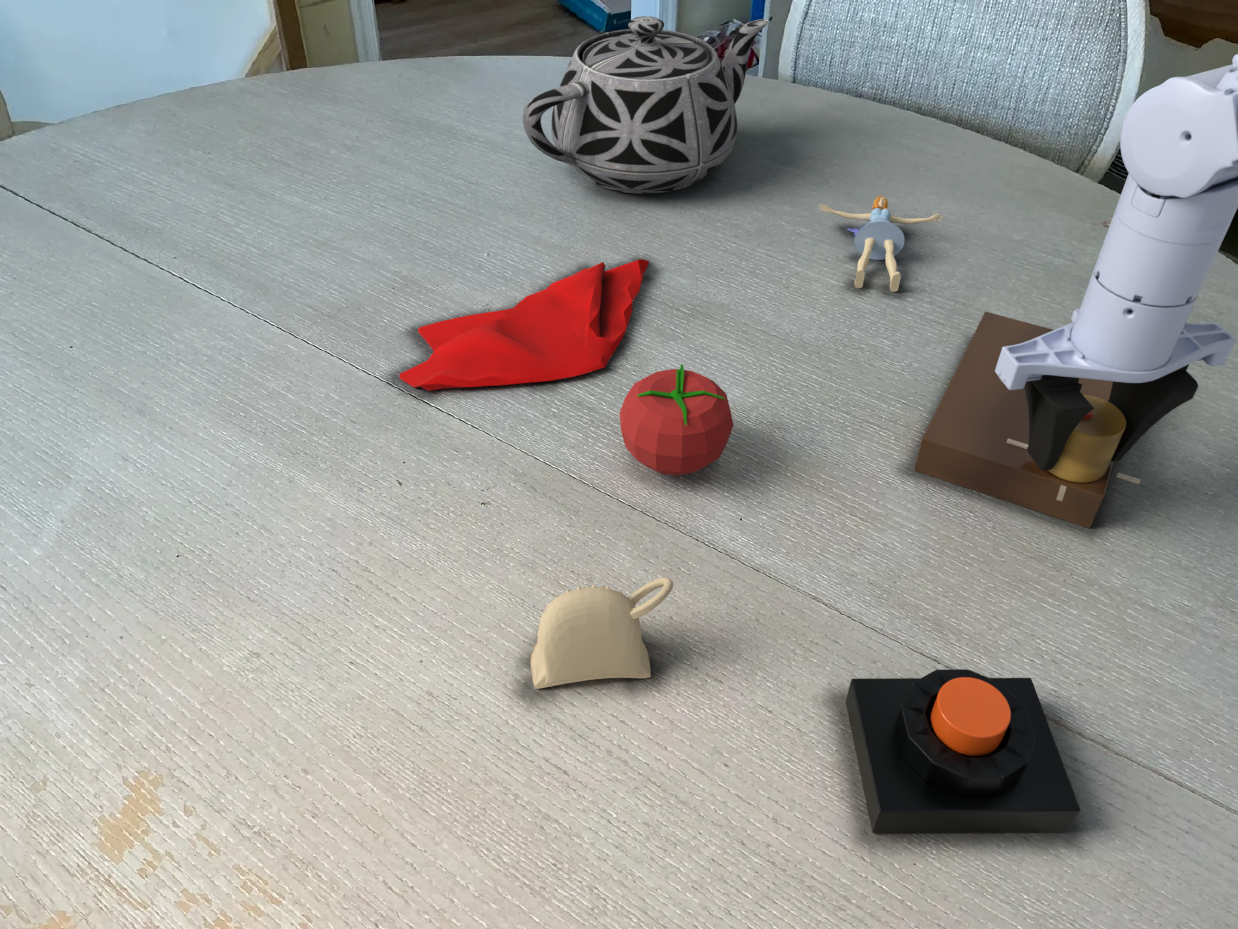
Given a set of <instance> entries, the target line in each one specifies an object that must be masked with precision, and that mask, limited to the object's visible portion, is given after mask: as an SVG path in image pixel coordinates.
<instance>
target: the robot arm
mask: <svg viewBox="0 0 1238 929" xmlns="http://www.w3.org/2000/svg"><path fill="white" fill-rule="evenodd" d="M1231 62H1232V64H1229V65H1224V66H1221V67H1218V68H1217V67H1216V68H1214V69H1210V70H1206V71H1203V72H1199V73H1195V74H1191V75H1187V76H1173V77H1170V78H1168V79H1166V80H1165V81H1164V82H1163V83H1161V84H1160V85H1157V86H1155V87H1152V88H1149V89H1148V90H1146V91H1145V92H1143V93H1142V94H1141V95H1140V96H1139V97H1138V98H1137V99H1136V100H1135V101H1134V102H1133V103H1132V105H1131V106H1130V107H1129V109H1128V111H1127V113H1126V115H1125V116H1124V119H1123V122H1122V125H1121V130H1120V137H1119V148H1120V154H1121V155H1120V156H1121V159H1122V162H1123V164H1124V165H1123V166H1124V167H1125V169H1126V171H1127V173H1128V174H1127V177H1126V180H1125V182H1124V185H1123V188H1122V190H1121V193H1120V196H1119V199H1118V202H1117V204H1116V207H1115V210H1114V213H1113V215H1112V218H1111V221H1110V224H1109V227H1108V229H1107V232H1106V234H1105V238H1104V240H1103V243H1102V246H1101V249H1100V251H1099V254H1098V256H1097V259H1096V262H1095V264H1094V265H1095V266H1094V267H1093V271H1092V273H1091V277H1090V278H1089V281H1088V284H1087V288H1086V290H1085V293H1084V296H1083V298H1082V302H1081V304H1080V306H1079V308H1076V309H1074V311H1073V312H1072V315H1071V318H1070V320H1071V322H1070V323H1068V324H1065V325H1063V326H1061V327H1058V328H1056V329H1053V331H1051V332H1048V333H1046V334H1044V335H1041V336H1039V337H1036V338H1034V339H1032V340H1029V341H1027V342H1024V343H1020V344H1016V345H1011V346H1004V347H1002V350H1001V353H1000V356H999V359H998V363H997V366H996V369H995V372H996V374H997V375H998V376H999V378H1000V379H1001V381H1002V382H1003V383H1004V384H1005V385H1006V387H1007V388H1008V389H1009V390H1017V389H1023V388H1025V392H1026V397H1027V403H1028V410H1029V444H1028V453H1029V455H1030V456H1031V457H1032V459H1033V460H1034V461H1035V463H1036V464H1037V465H1038V467H1039V468H1040V470H1042V471H1045V470H1051V469H1052V468H1053V467H1054V466H1055V465H1056V463H1057V462H1058V460H1059V458H1060V456H1061V453H1062V451H1063V449H1064V447H1065V444H1066V442H1067V440H1068V438H1069V436H1070V435H1071V433H1072V432H1073V430H1074V429H1075V427H1076V426H1077V425H1078V424H1079V422H1080V421H1081V420H1082V419H1083V418H1084V417H1085V416H1086V415H1087V414H1088V413H1089V412H1090V411H1092V410H1093V409H1094V408H1093V406H1092V405H1091V404H1090V403H1089V402H1088V400H1087V399H1086V398H1085V397H1084V396H1083V395H1082V393H1081V392H1080V390H1081V388H1082V384H1079V382H1078V381H1079V378H1083V379H1093V380H1104V381H1113V384H1112V389H1111V393H1110V397H1109V400H1108V402H1110V403H1111V404H1113V405H1114V406H1116V407H1117V408H1118V409H1119V410H1120V411H1121V412H1122V413H1123V415H1124V416H1125V419H1126V428H1125V430H1124V432H1123V435H1122V437H1121V439H1120V441H1119V444H1118V446H1117V448H1116V450H1115V453H1114V455H1113V457H1112V459H1111V462H1113V461H1114V462H1119V461H1120V462H1121V460H1122V459H1123V458H1124V457H1125V456H1126V454H1128V452H1130V450H1131V449H1132V448H1133V447H1134V446H1135V445H1136V443H1138V441H1140V439H1141V438H1142V437H1143V436H1144V435H1145V434H1146V433H1147V432H1148V431H1149V430H1150V429H1151V428H1152V427H1153V426H1154V425H1155V424H1156V423H1158V422H1159V421H1160V420H1161V419H1162V418H1164V417H1165V416H1167V415H1168V414H1169V413H1170V412H1172V411H1173V410H1175V409H1177V408H1178V407H1180V406H1182V405H1183V404H1185V403H1187V402H1189V401H1191V400H1192V399H1193V398H1194V397H1195V395H1196V392H1197V390H1198V388H1199V383H1198V381H1197V380H1196V379H1195V378H1194V377H1193V376H1192V375H1191V374H1190V373H1189V372H1188V371H1187V370H1188V368H1189V367H1190V364H1192V363H1195V362H1200V361H1204V363H1205V364H1206V365H1208V366H1210V367H1215V366H1223V365H1225V364H1226V362H1227V360H1228V358H1229V356H1230V354H1231V352H1232V350H1233V348H1234V346H1235V344H1236V343H1237V339H1236V338H1235V337H1234V336H1233V335H1232V334H1231V333H1230V332H1229V331H1228V330H1227V329H1225V328H1224V327H1223V326H1222V325H1221V324H1219V322H1216V321H1215V322H1187V321H1188V319H1189V316H1190V314H1191V312H1192V310H1193V307H1194V305H1195V303H1196V301H1197V299H1198V297H1199V294H1200V292H1201V290H1202V287H1203V285H1204V283H1205V281H1206V278H1207V276H1208V274H1209V272H1210V270H1211V267H1212V265H1213V263H1214V261H1215V259H1216V257H1217V255H1218V252H1219V250H1220V248H1221V246H1222V242H1223V241H1224V238H1225V237H1226V235H1227V232H1228V230H1229V228H1230V226H1231V225H1232V224H1231V223H1232V221H1233V218H1234V217H1235V214H1236V212H1237V210H1238V53H1237V54H1235V55H1234V56H1233V57H1232V61H1231ZM1114 462H1113V463H1114Z"/></svg>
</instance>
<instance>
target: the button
mask: <svg viewBox="0 0 1238 929" xmlns="http://www.w3.org/2000/svg"><path fill="white" fill-rule="evenodd" d="M1010 720H1011V711H1010V707H1009V704H1008V702H1007V700H1006V698H1005V697H1004V696H1003V695H1002V693H1001V692H1000V691H999V690H997V689H996V688H995V687H994V686H992V685H990V684H989V683H987V682H985V681H982V680H980V679H976V678H971V677H960V678H955V679H952V680H950V681H948V682H947V683H945V684H944V685H943V686H942V687H941V689H940V691H939V693H938V695H937V698H936V701H935V704H934V706H933V709H932V712H931V724H932V727H933V730H934V732H935V734H936V735H937V737H938V738H939V739H940V740H941V741H942V742H943V743H944V744H945V745H946V746H947V747H949V748H950V749H952V750H954V751H956V752H958V753H961V754H965V755H970V756H981V755H985V754H988V753H990V752H992V751H994V750H995V749H996V748H997V747H998V746H999V745H1000V743H1001V741H1002V739H1003V736H1004V734H1005V732H1006V730H1007V728H1008V726H1009V723H1010Z"/></svg>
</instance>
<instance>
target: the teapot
mask: <svg viewBox="0 0 1238 929" xmlns="http://www.w3.org/2000/svg"><path fill="white" fill-rule="evenodd" d="M768 24H769V19H765V18H762V19H756V20H752V21H751V20H750V21H749V22H746V23H744V24H743V25H742V27H740V29H739V30H738V31H737V32H736V33H735V35H734V36H733V39H732V41H731V43H730V45H729V47H728V49H727V51H726V53H725V56H724V58H723V59H722V61H720V58H719V56H718V53H717V52H716V50H715V49H714V48H713V47H712V45H711V44H709V43H708V42H706V41H704V40H703V39H700V38H699V37H697V36H695V35H692V34H688V33H684V32H680V31H674V30H669V29H664V27H665V22H664V21H663V20H662V19H660V18H659V17H656V16H648V15H647V16H646V15H643V16H636V17H634V18H631V19H630V20H629V21H628V23H627V26H628V28H629V29H628V28H627V29H620V30H613V31H609V32H603V33H600V34H598V35H594V36H592V37H590V38H588V39H586V40H584V41H583V42H581V44H579V45H578V46H577V48H575V50H574V52H573V54H572V56H571V59H570V61H569V63H568V66H567V68H566V70H565V71H564V74H563V77H562V79H561V82H560V83H559V86H558V87H555V88H553V89H549V90H547V91H545V92H543V93H540V94H538V95H536V96H534V97H533V98H531V99H530V100H529V101H528V102H527V104H525V106H524V108H523V112H522V124H523V129H524V131H525V134H526V136H527V138H528V140H529V141H530V142H531V144H532V145H533V146H534V147H535V148H536V149H537V150H538V151H539V152H541V153H542V154H544V155H546V156H548V157H549V158H552V159H554V160H555V161H559V162H561V163H564V164H568V165H569V166H570V167H572V168H573V169H574V170H575V171H576V172H578V173H579V174H581V176H582V177H584V178H585V180H588V181H589V182H591V183H592V184H594V185H596V186H599V187H602V188H604V189H606V190H607V189H608V190H611V191H615V192H620V193H626V194H637V195H651V194H652V195H653V194H664V193H669V192H674V191H678V190H682V189H685V188H687V187H690V186H693V185H694V184H696V183H698V182H699V181H701V180H702V179H704V178H705V177H706V176H707V175H709V174H710V173H712V172H714V170H716V169H717V168H718V167H719V166H720V165H722V163H723V162H724V161H725V160H726V159H727V157H728V156H729V155H730V154H731V152H732V150H733V148H734V146H735V143H736V140H737V136H738V135H737V134H738V119H737V118H738V117H737V110H736V105H735V104H736V103H737V102H738V100H739V99H740V96H741V93H742V91H743V88H744V84H745V79H746V73H747V68H748V61H749V55H750V52H751V49H752V46H753V43H754V42H755V39H756V37H757V36H758V34H759V33H760V32H761V31H762V30H763V29H764V28H765V27H766V26H767V25H768ZM551 108H552V113H551V121H550V122H551V123H550V126H551V127H550V130H551V132H550V133H551V137H552V141H553V143H552V142H551V141H550V140H549V139H548V137H547V136H546V134H545V132H544V128H543V126H542V116H543V115H544V114H545V112H547V111H548V110H550V109H551Z"/></svg>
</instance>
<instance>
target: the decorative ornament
mask: <svg viewBox="0 0 1238 929" xmlns="http://www.w3.org/2000/svg"><path fill="white" fill-rule="evenodd" d="M659 588H661V589H660V590H659V592H658V593H656V594H655V595H654V596H653V597H652V598H650V599H649V600H647V601H646V602H644V603H642V604H640V605H638V606H636V605H637V604H638V603H639V602H640V601H641V600H642V599H643V598H645V597H646V596H648V595H649V594H650V593H652V592H653V591H656V590H657V589H659ZM673 588H674V581H673V580H672V579H671V578H670V577H666V576H665V577H664V576H663V577H659V578H656V579H653V580H651V581H649V582H647V583H645V584H644V585H642V586H640V587H639V588H638V589H637V590H635V591H634V592H632V593H631V594H630V595H629V596H627V595H625V594H624V593H623V592H622V590H618V591H617V590H615V589H613V588H611V587H610V586H609V585H606V586H605V587H603V586H596V585H595V584H592V585H590V586H586V587H581V586H580V585H578V586H577V587H576V588H575V589H572V590H571V589H570V590H569V589H566V591H565V592H563V593H561V594H559V595H557V594H556V595H555V598H554V599H552V600H551V601H550V602H549V604H546V605H545V606H546V608H545V609H544V611H543V613H542V614H541V616H540V618H539V619H540V621H539V626H538V631H537V634H536V635H537V639H536V640H537V641H536V644H535V645H534V648H533V651H532V652H531V655H530V671H531V677H532V683H533V686H534V689H535V690H539V689H543V688H545V689H546V688H548V687H554V686H555V687H556V686H561V685H565V684H572V683H578V682H584V681H591V680H592V681H593V680H600V679H601V680H603V679H650V678H651V677H652V675H651V674H652V673H651V663H650V657H649V652H648V649H647V646H646V645H645V643H644V641H643V638H642V626H641V620H640V618H641V617H643V616H645V615H647V614H648V613H650V612H651V611H653V610H654V609H656V608H657V607H658V606H659V605H660V604H661V603H663V601H664V600H666V599H667V597H668V596H669V595H670V593H671V592H672V590H673Z"/></svg>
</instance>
